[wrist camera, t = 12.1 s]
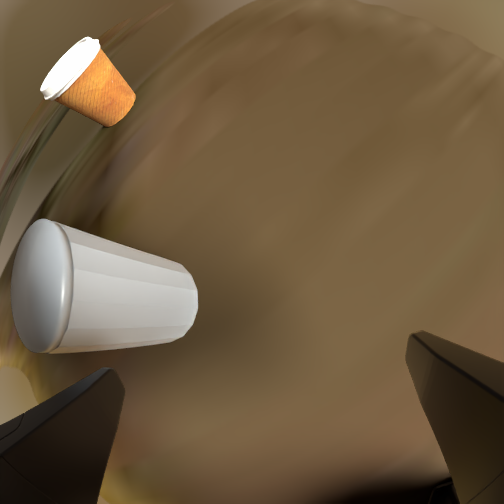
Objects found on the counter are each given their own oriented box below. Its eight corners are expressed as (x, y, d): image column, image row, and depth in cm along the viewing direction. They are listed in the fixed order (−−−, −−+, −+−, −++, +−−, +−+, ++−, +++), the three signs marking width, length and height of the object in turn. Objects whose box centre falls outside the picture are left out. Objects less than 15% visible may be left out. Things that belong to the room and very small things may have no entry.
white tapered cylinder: (199, 343, 20) (64, 364, 9) (134, 339, 22) (11, 343, 11) (196, 255, 22) (70, 204, 10) (132, 264, 24) (16, 231, 12)
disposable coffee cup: (127, 132, 28) (61, 79, 17) (86, 141, 32) (29, 103, 20) (155, 77, 30) (105, 23, 19) (112, 91, 33) (64, 50, 22)
